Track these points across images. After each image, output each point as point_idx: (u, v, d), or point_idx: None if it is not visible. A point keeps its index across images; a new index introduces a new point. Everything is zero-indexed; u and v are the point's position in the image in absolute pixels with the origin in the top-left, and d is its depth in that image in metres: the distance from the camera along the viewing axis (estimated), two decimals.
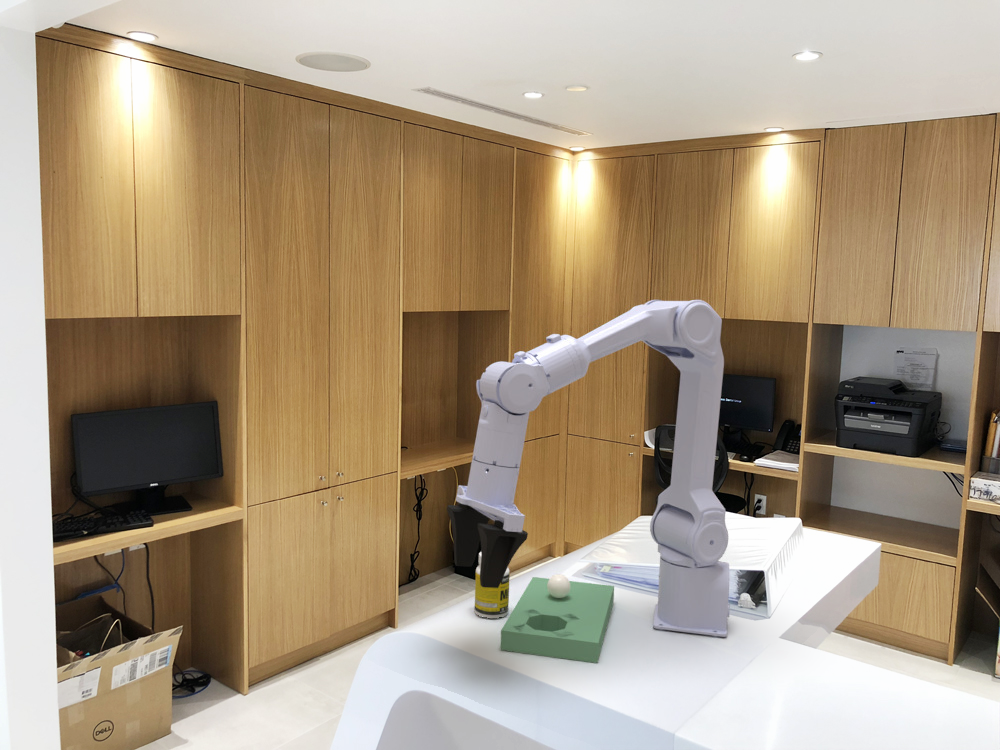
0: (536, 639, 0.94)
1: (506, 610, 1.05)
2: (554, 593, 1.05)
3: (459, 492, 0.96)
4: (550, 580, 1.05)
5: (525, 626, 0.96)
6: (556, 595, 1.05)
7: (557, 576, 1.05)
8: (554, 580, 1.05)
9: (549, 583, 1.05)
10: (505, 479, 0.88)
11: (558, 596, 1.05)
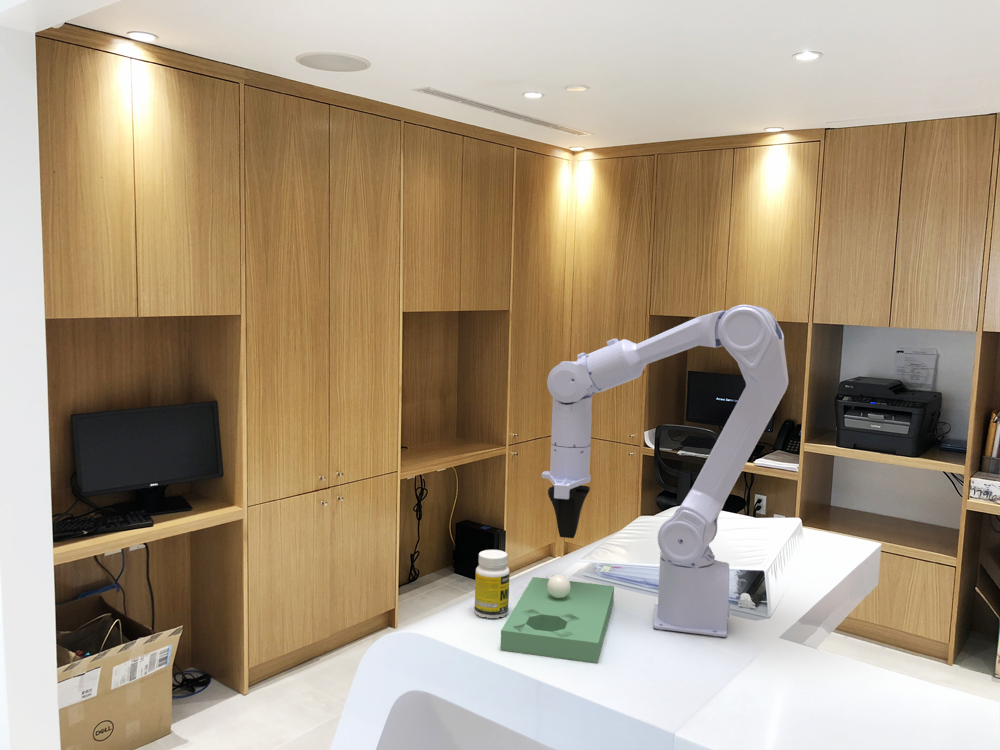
0: (536, 639, 0.94)
1: (506, 610, 1.05)
2: (554, 593, 1.05)
3: None
4: (550, 580, 1.05)
5: (525, 626, 0.96)
6: (556, 595, 1.05)
7: (557, 576, 1.05)
8: (554, 580, 1.05)
9: (549, 583, 1.05)
10: (568, 457, 1.08)
11: (558, 596, 1.05)
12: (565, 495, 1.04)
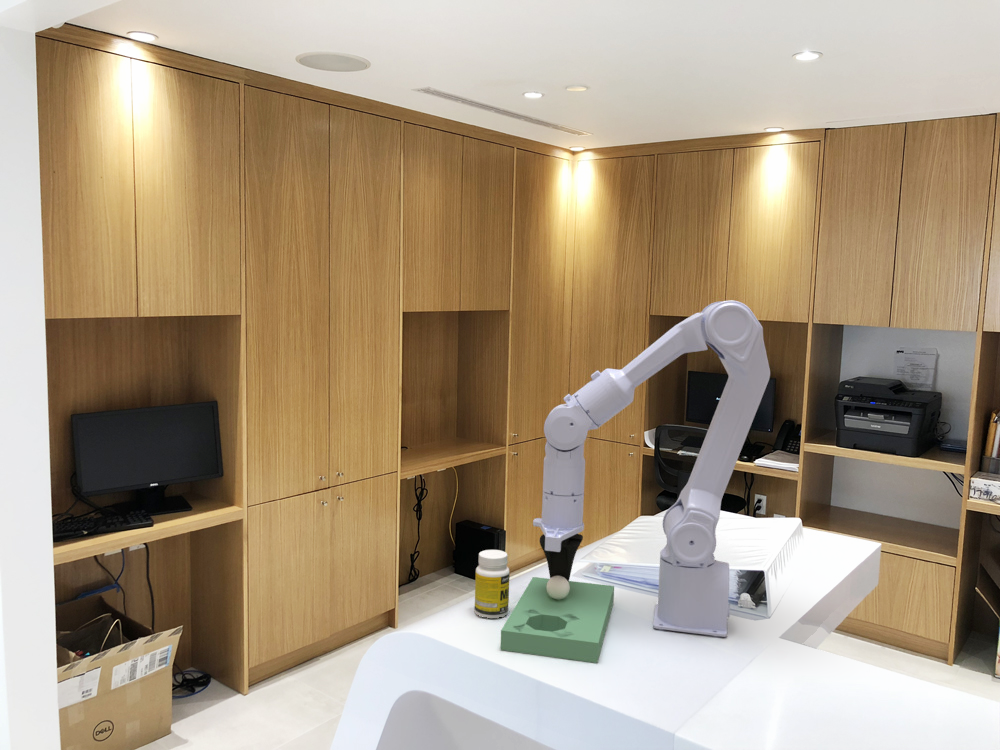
0: (536, 639, 0.94)
1: (506, 610, 1.05)
2: (554, 596, 1.05)
3: None
4: (549, 583, 1.05)
5: (525, 626, 0.96)
6: (556, 598, 1.05)
7: (555, 579, 1.05)
8: (553, 583, 1.04)
9: (548, 586, 1.05)
10: (560, 506, 1.04)
11: (558, 598, 1.05)
12: (556, 547, 1.00)
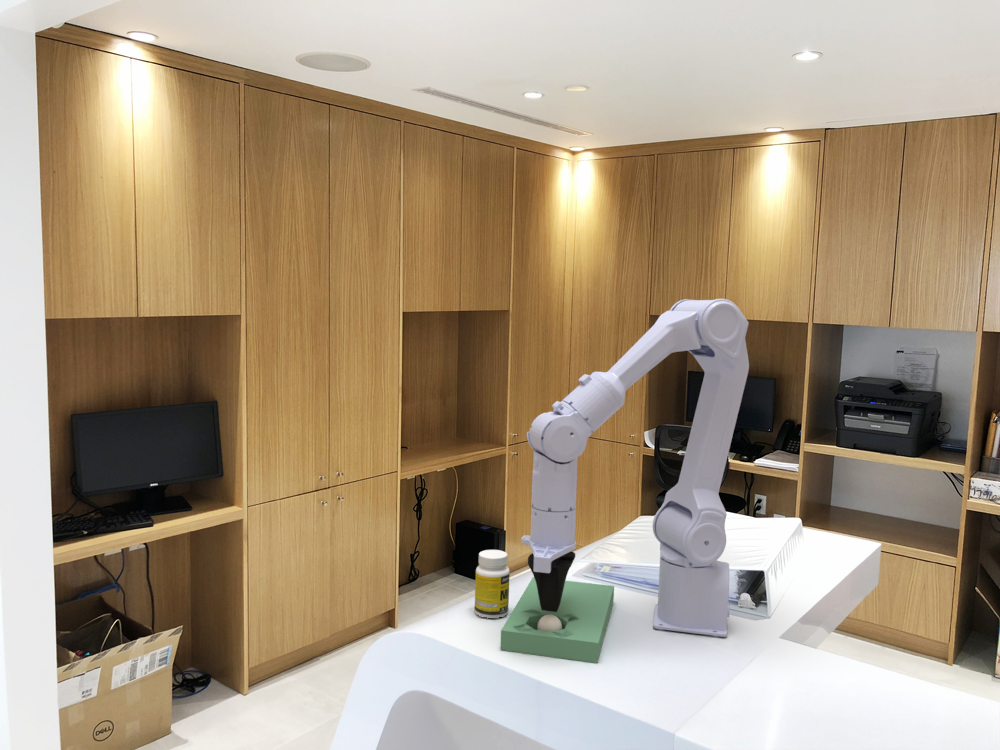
0: (536, 639, 0.94)
1: (506, 610, 1.05)
2: (546, 624, 0.97)
3: None
4: (543, 616, 0.99)
5: (525, 626, 0.96)
6: (547, 628, 0.97)
7: None
8: None
9: (542, 617, 0.98)
10: (550, 522, 0.96)
11: (549, 629, 0.97)
12: (546, 568, 0.92)
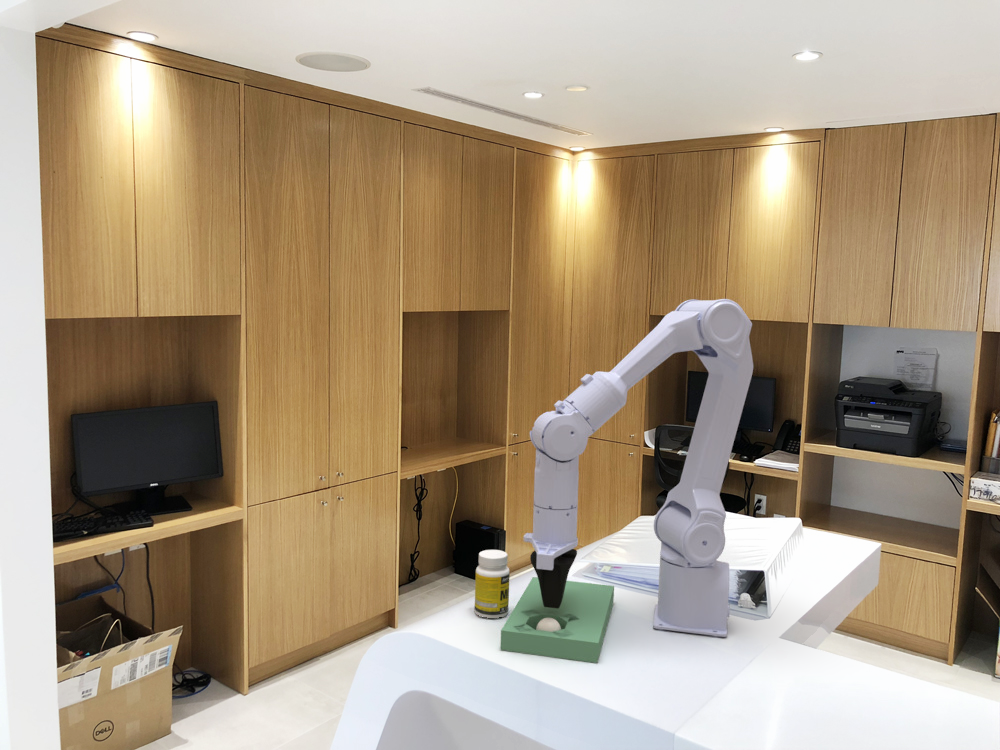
0: (536, 639, 0.94)
1: (506, 610, 1.05)
2: None
3: None
4: (541, 621, 0.97)
5: (525, 626, 0.96)
6: None
7: (549, 618, 0.97)
8: (546, 621, 0.96)
9: (540, 624, 0.97)
10: (552, 520, 0.97)
11: None
12: (549, 566, 0.93)
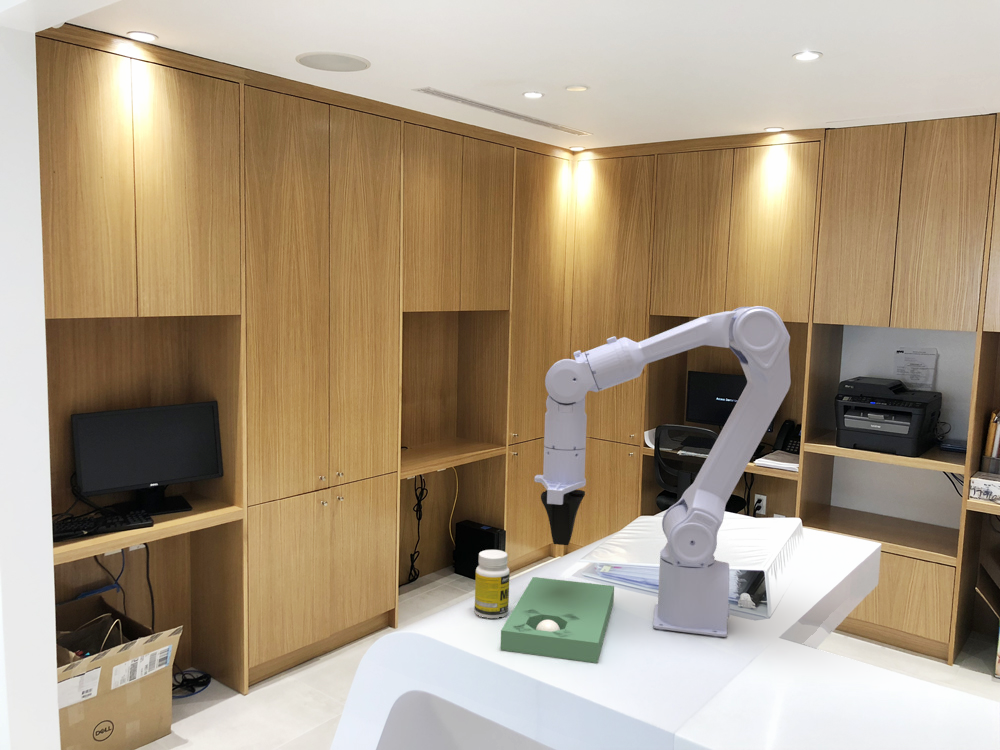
0: (536, 639, 0.94)
1: (506, 610, 1.05)
2: None
3: None
4: (540, 627, 0.96)
5: (525, 626, 0.96)
6: None
7: (548, 623, 0.96)
8: (545, 628, 0.95)
9: None
10: (562, 460, 1.03)
11: None
12: (559, 500, 0.99)
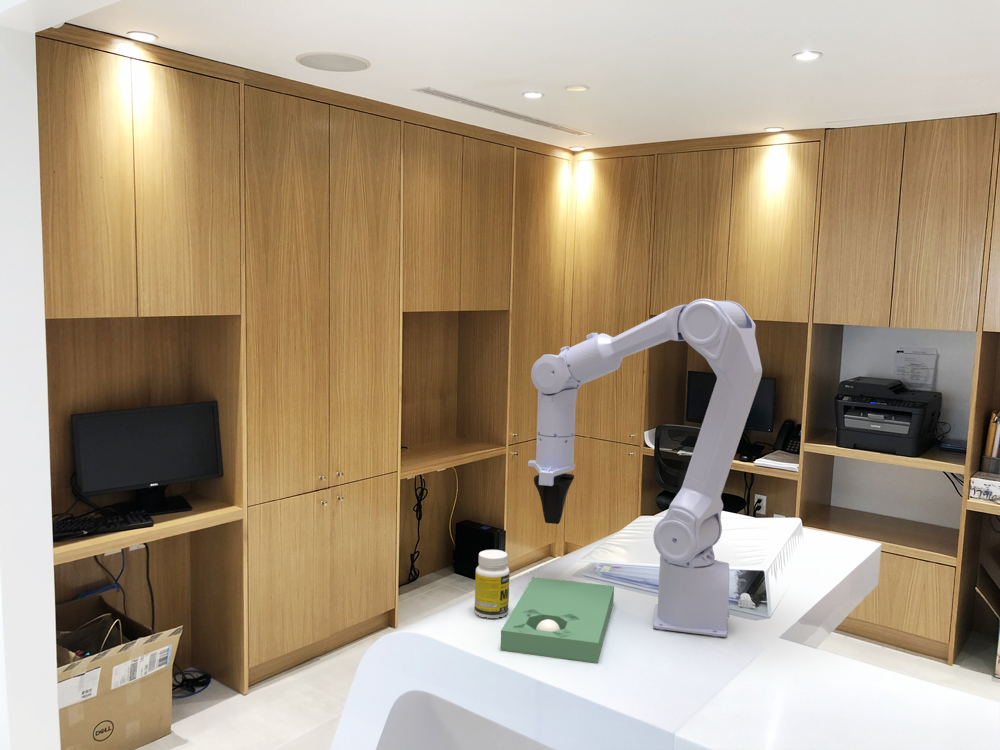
0: (536, 639, 0.94)
1: (506, 610, 1.05)
2: None
3: None
4: (540, 626, 0.96)
5: (525, 626, 0.96)
6: None
7: (548, 622, 0.96)
8: (545, 627, 0.95)
9: (539, 629, 0.96)
10: (553, 446, 1.13)
11: None
12: (549, 482, 1.09)
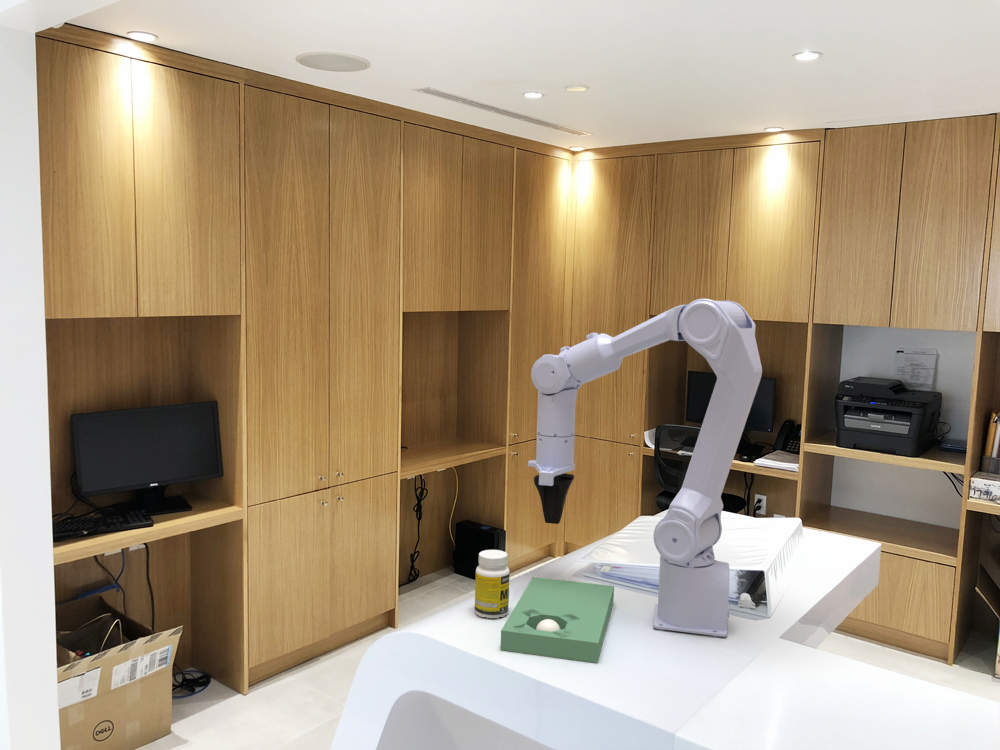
0: (536, 639, 0.94)
1: (506, 610, 1.05)
2: None
3: None
4: (540, 626, 0.96)
5: (525, 626, 0.96)
6: None
7: (548, 622, 0.96)
8: (545, 626, 0.96)
9: (539, 629, 0.96)
10: (553, 446, 1.13)
11: None
12: (549, 482, 1.09)
